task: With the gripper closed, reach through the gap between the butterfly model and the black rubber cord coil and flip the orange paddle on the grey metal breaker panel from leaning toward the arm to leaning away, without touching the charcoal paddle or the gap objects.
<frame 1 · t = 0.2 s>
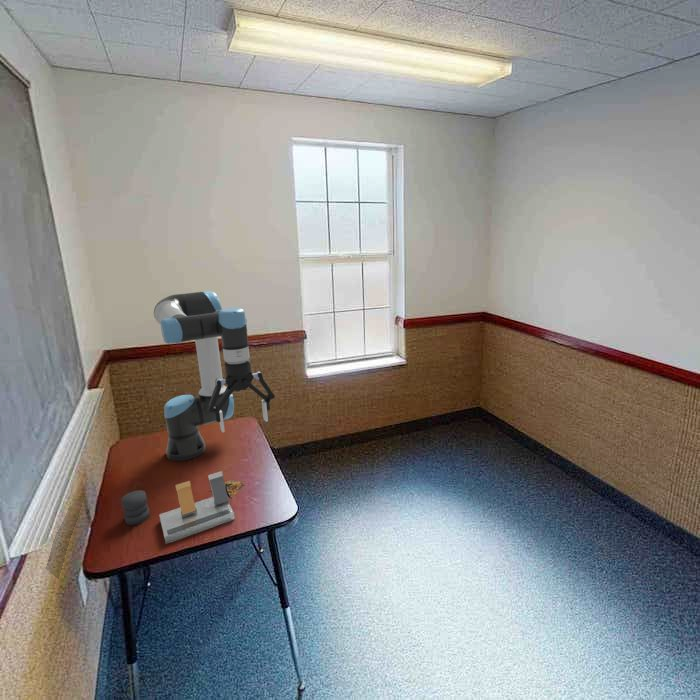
hand: (244, 425, 131), 28 cm above the table, fingers open, 13 cm apart
cord coil: (137, 517, 133), on the table
breaker panel: (197, 520, 130), on the table
paddle orange: (185, 498, 130), point 7 cm above the table, hinge at -35.0°
butterfly model: (229, 490, 147), on the table
paddle charcoal: (218, 488, 135), point 7 cm above the table, hinge at -35.0°
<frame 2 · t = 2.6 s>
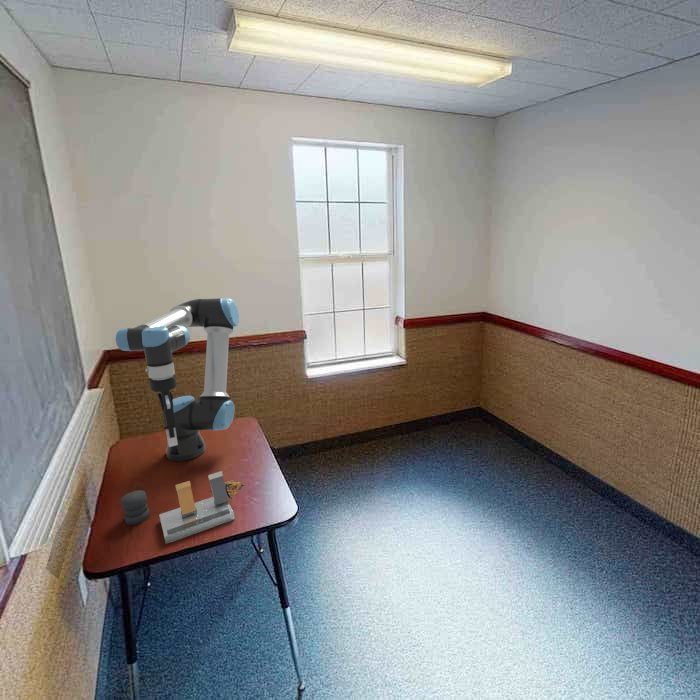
hand: (173, 445, 136), 20 cm above the table, fingers closed
nothing on the table moved.
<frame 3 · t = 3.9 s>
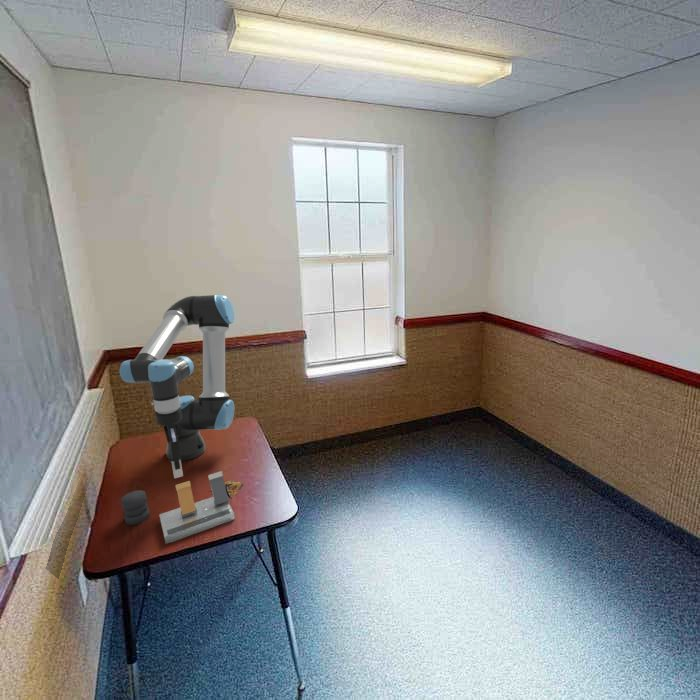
hand: (178, 476, 137), 10 cm above the table, fingers closed
nothing on the table moved.
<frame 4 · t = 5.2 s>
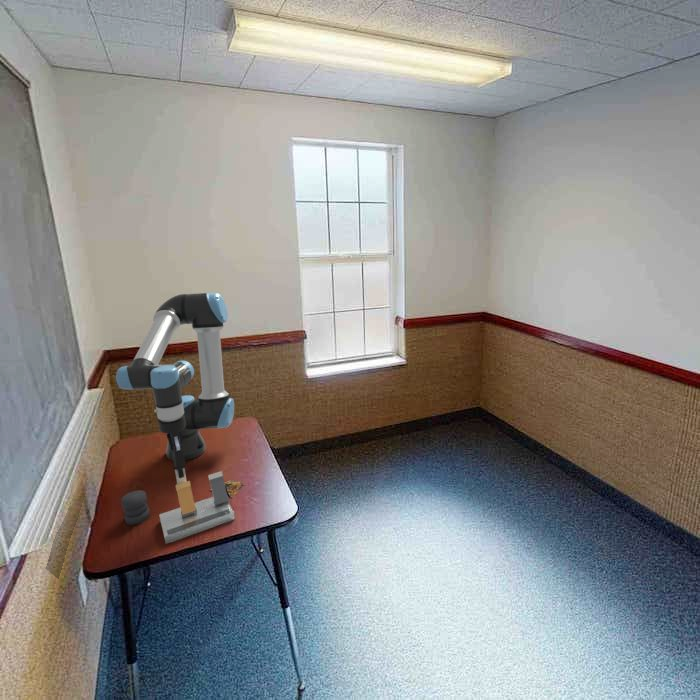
hand: (182, 484, 133), 9 cm above the table, fingers closed
paddle orange: (185, 498, 130), point 7 cm above the table, hinge at -34.8°, touching gripper
everything else where it was.
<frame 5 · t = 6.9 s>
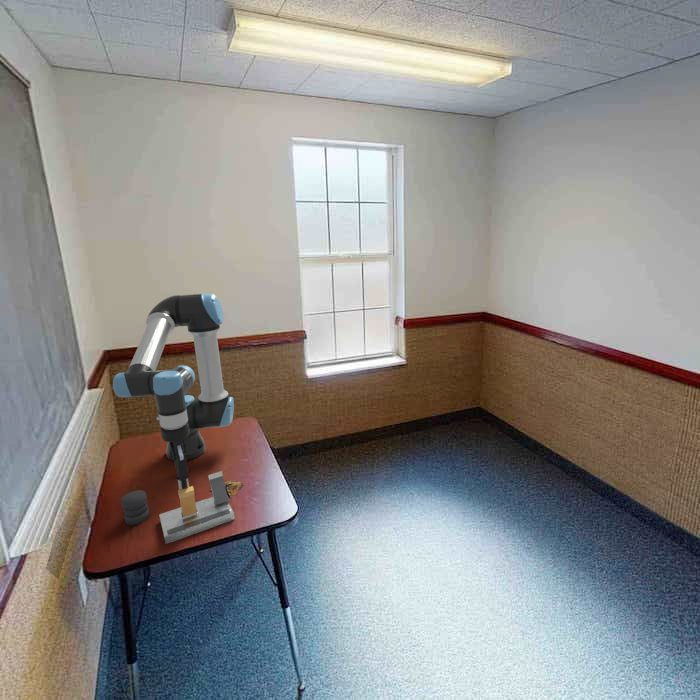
hand: (185, 495, 127), 10 cm above the table, fingers closed
paddle orange: (187, 502, 127), point 8 cm above the table, hinge at 9.8°, touching gripper
everything else where it was.
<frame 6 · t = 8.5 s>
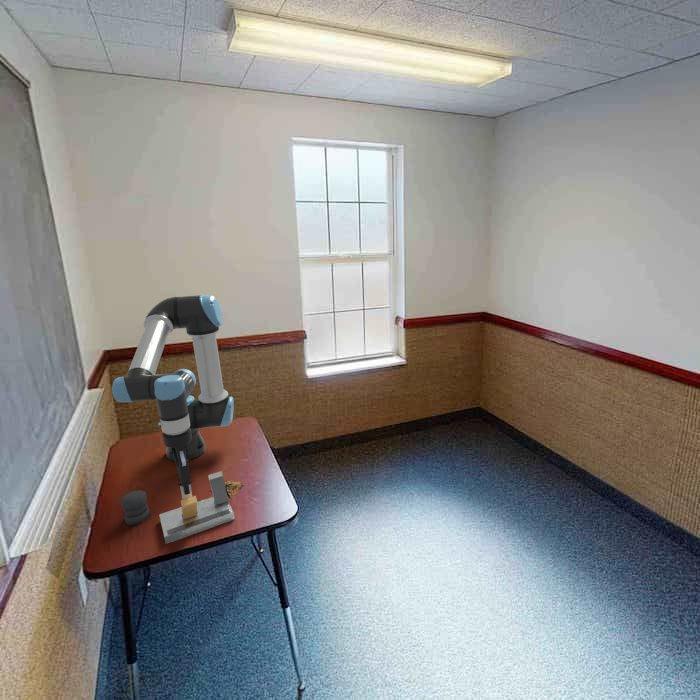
hand: (187, 501, 125), 9 cm above the table, fingers closed
paddle orange: (189, 508, 125), point 7 cm above the table, hinge at 32.8°, touching gripper
everything else where it was.
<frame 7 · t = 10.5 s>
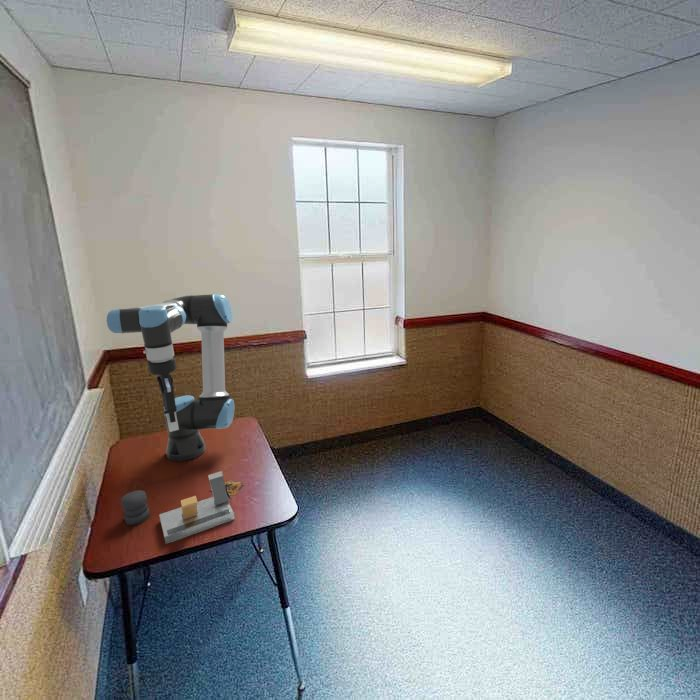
hand: (173, 429, 131), 27 cm above the table, fingers closed
paddle orange: (189, 508, 125), point 7 cm above the table, hinge at 32.9°
everything else where it was.
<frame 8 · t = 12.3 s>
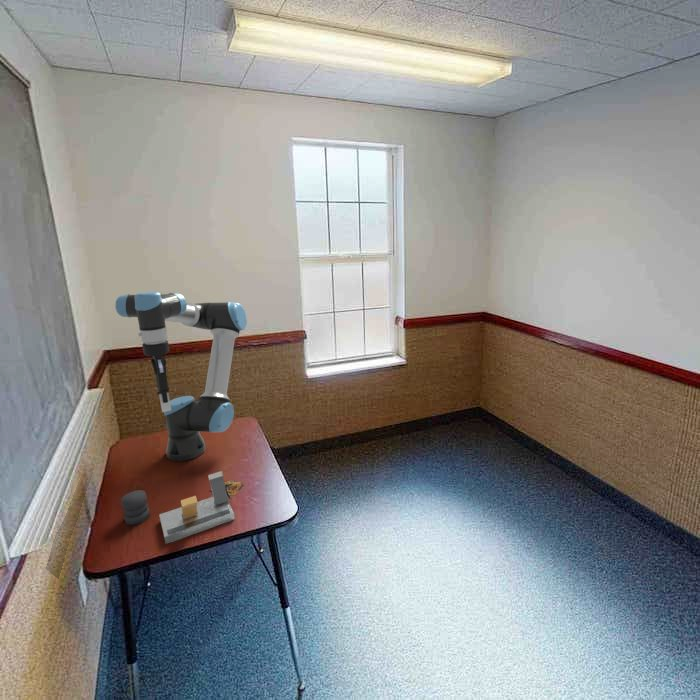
hand: (166, 410, 138), 30 cm above the table, fingers closed
nothing on the table moved.
at the end: paddle orange at +33° (first picture: -35°); paddle charcoal at -35° (first picture: -35°); cord coil moved 0.1 cm from its start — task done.
